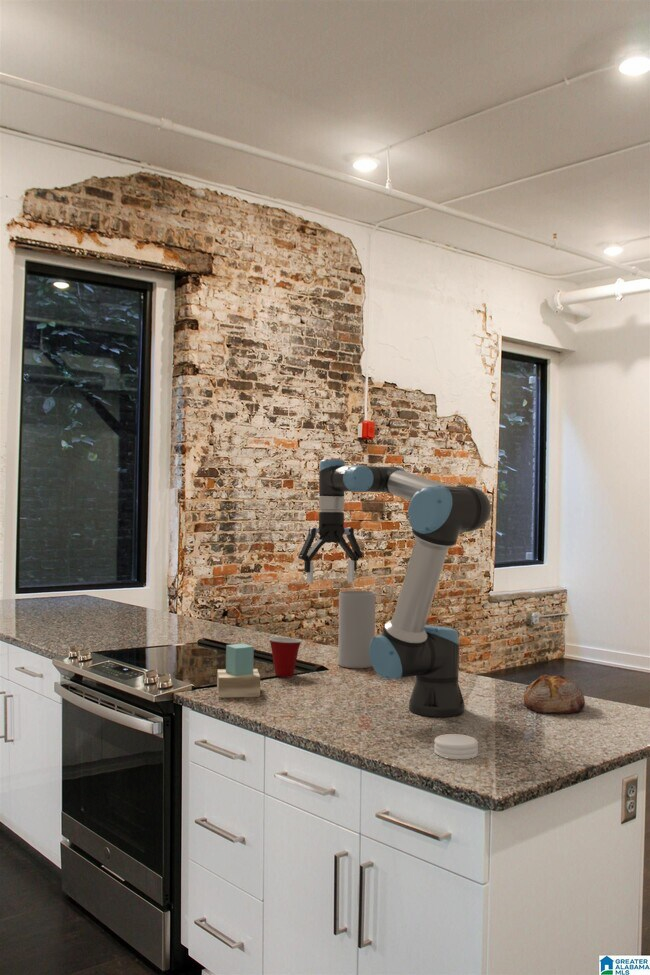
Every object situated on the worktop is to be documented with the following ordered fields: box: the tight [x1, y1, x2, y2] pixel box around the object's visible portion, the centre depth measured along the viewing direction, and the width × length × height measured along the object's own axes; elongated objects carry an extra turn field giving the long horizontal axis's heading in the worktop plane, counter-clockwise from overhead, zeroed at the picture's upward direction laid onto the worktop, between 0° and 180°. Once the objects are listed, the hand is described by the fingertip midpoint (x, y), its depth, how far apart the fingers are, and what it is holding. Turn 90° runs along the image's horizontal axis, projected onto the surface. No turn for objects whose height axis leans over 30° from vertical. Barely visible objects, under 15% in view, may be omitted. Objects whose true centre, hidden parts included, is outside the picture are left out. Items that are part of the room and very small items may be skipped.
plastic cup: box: [268, 636, 303, 678], centre depth 284 cm, size 11×11×12 cm
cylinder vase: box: [337, 590, 376, 669], centre depth 302 cm, size 12×12×25 cm
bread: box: [523, 673, 586, 715], centre depth 247 cm, size 16×20×10 cm
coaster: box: [433, 733, 479, 760], centre depth 202 cm, size 10×10×4 cm
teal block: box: [225, 643, 255, 676], centre depth 260 cm, size 6×6×8 cm
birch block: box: [216, 668, 261, 698], centre depth 260 cm, size 12×12×6 cm
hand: (330, 582), depth 260 cm, fingers open, 13 cm apart
